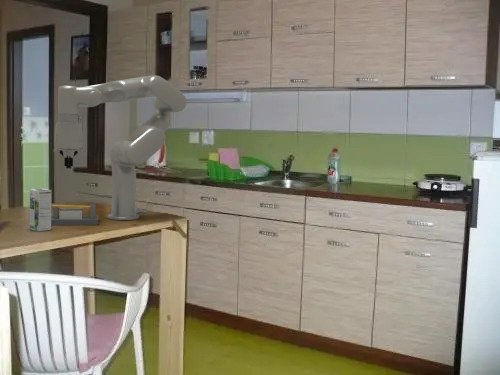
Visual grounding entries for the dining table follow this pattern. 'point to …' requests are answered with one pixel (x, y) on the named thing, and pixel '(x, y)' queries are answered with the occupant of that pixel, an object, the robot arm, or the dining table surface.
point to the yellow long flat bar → (72, 206)
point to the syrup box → (40, 209)
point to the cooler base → (74, 217)
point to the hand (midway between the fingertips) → (68, 168)
